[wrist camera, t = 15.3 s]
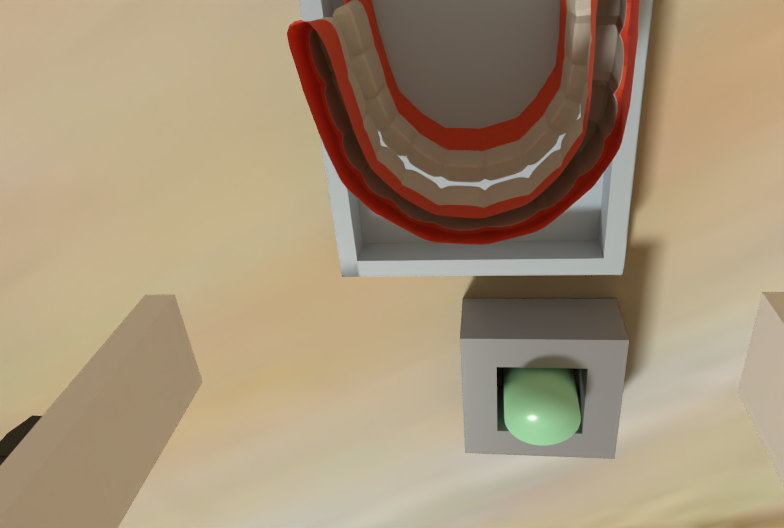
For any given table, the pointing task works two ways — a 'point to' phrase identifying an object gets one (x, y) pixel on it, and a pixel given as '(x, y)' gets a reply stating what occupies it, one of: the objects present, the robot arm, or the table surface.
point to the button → (540, 404)
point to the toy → (469, 145)
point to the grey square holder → (543, 350)
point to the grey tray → (479, 110)
